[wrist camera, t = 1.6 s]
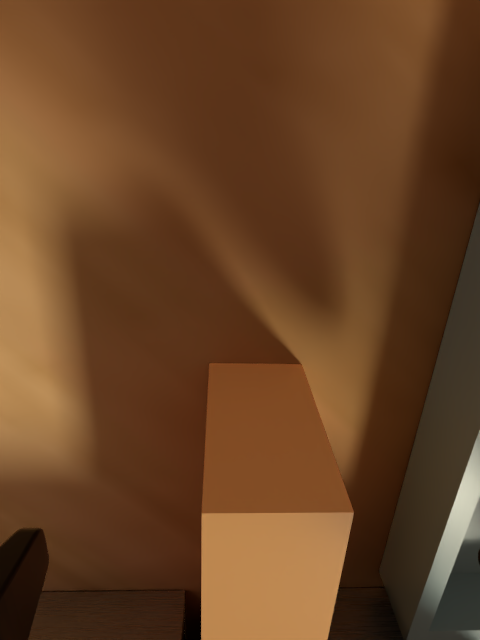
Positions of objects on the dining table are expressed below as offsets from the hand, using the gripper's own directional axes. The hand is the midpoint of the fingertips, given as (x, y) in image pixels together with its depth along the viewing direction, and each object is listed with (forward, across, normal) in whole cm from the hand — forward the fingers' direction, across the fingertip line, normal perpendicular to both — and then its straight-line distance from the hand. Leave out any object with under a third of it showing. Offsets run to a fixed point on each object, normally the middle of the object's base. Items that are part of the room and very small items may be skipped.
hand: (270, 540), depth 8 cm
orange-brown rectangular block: (+4, 0, +4) cm, 6 cm away
